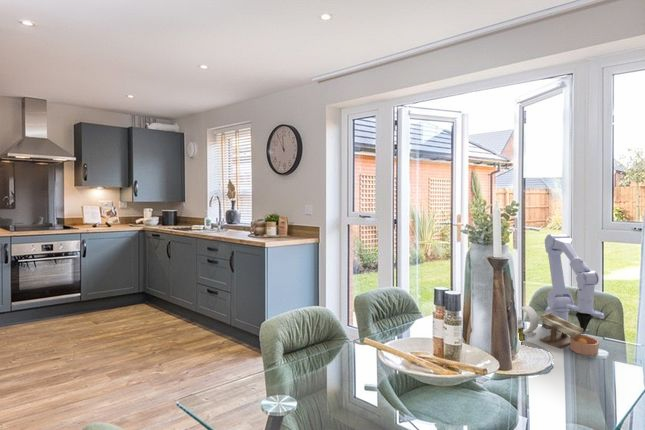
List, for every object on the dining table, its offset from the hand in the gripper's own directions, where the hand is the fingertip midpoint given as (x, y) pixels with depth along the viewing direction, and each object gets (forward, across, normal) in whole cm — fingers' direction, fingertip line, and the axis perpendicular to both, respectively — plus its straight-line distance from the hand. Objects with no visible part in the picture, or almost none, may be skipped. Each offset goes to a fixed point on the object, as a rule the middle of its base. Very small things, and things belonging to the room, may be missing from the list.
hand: (583, 329), depth 189 cm
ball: (+4, +2, -6) cm, 7 cm away
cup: (+6, +3, -6) cm, 9 cm away
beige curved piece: (+2, -7, -3) cm, 8 cm away
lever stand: (+6, -7, -6) cm, 11 cm away
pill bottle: (+6, -17, -23) cm, 29 cm away
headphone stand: (+6, -19, -9) cm, 22 cm away
